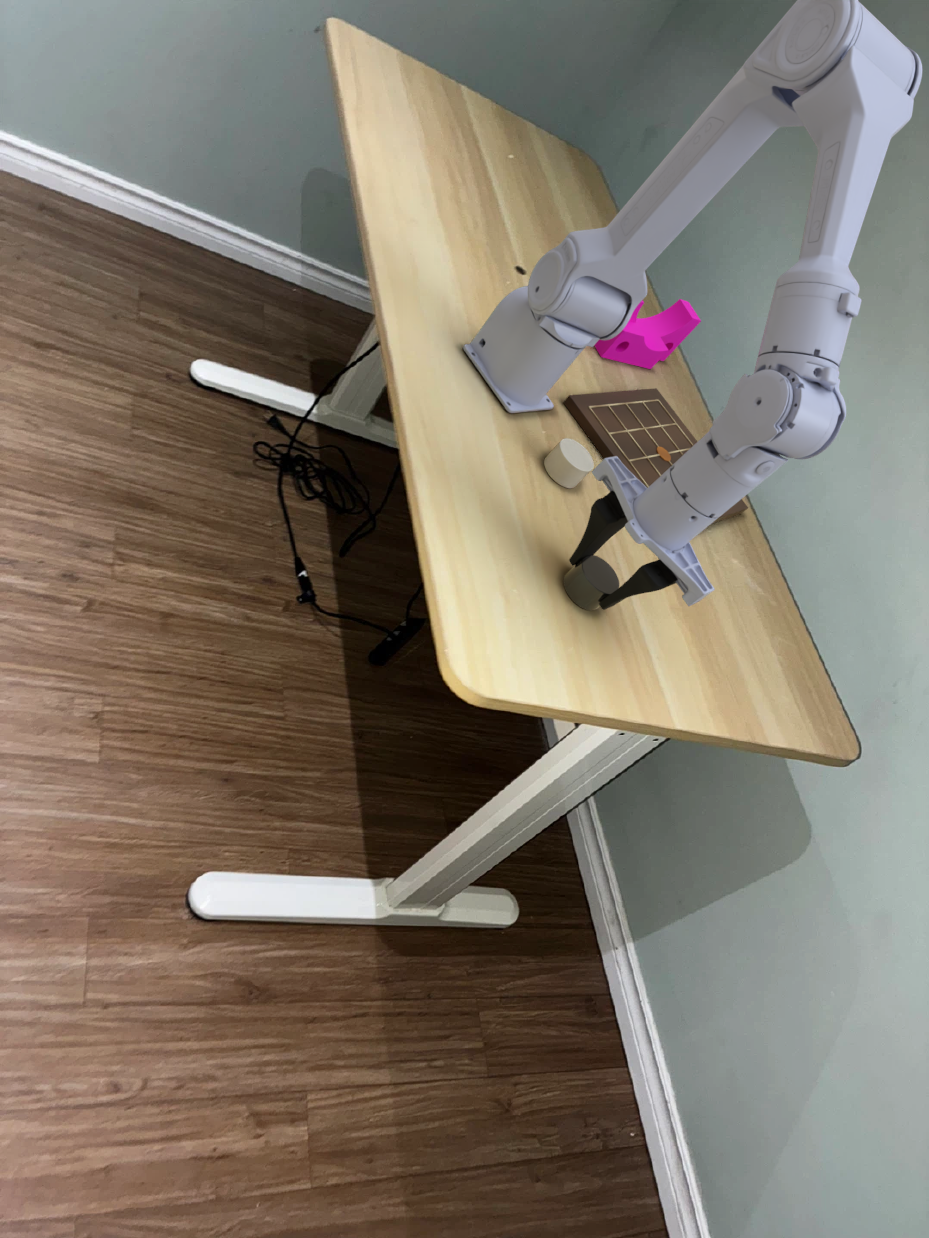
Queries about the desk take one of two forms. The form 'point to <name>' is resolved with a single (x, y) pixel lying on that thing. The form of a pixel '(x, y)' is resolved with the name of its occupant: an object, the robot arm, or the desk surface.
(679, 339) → the toy block
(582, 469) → the white stone
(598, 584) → the black stone
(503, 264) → the desk surface
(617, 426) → the board
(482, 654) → the desk surface
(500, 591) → the desk surface
